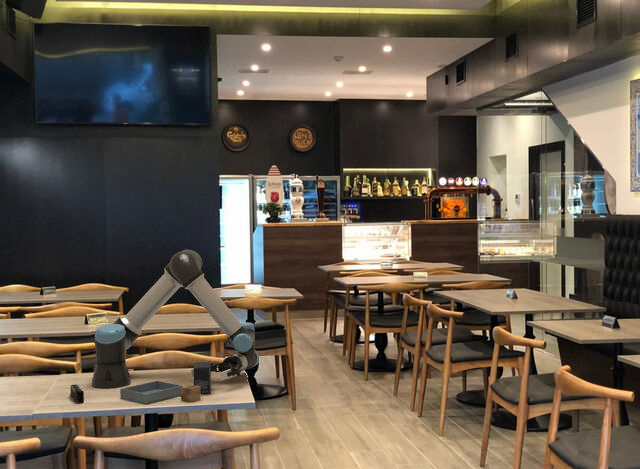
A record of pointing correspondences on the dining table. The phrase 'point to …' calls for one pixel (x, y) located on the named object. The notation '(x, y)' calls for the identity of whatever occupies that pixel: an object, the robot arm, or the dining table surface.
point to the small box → (202, 376)
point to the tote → (151, 392)
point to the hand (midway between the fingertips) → (206, 374)
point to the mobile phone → (77, 393)
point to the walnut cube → (190, 393)
